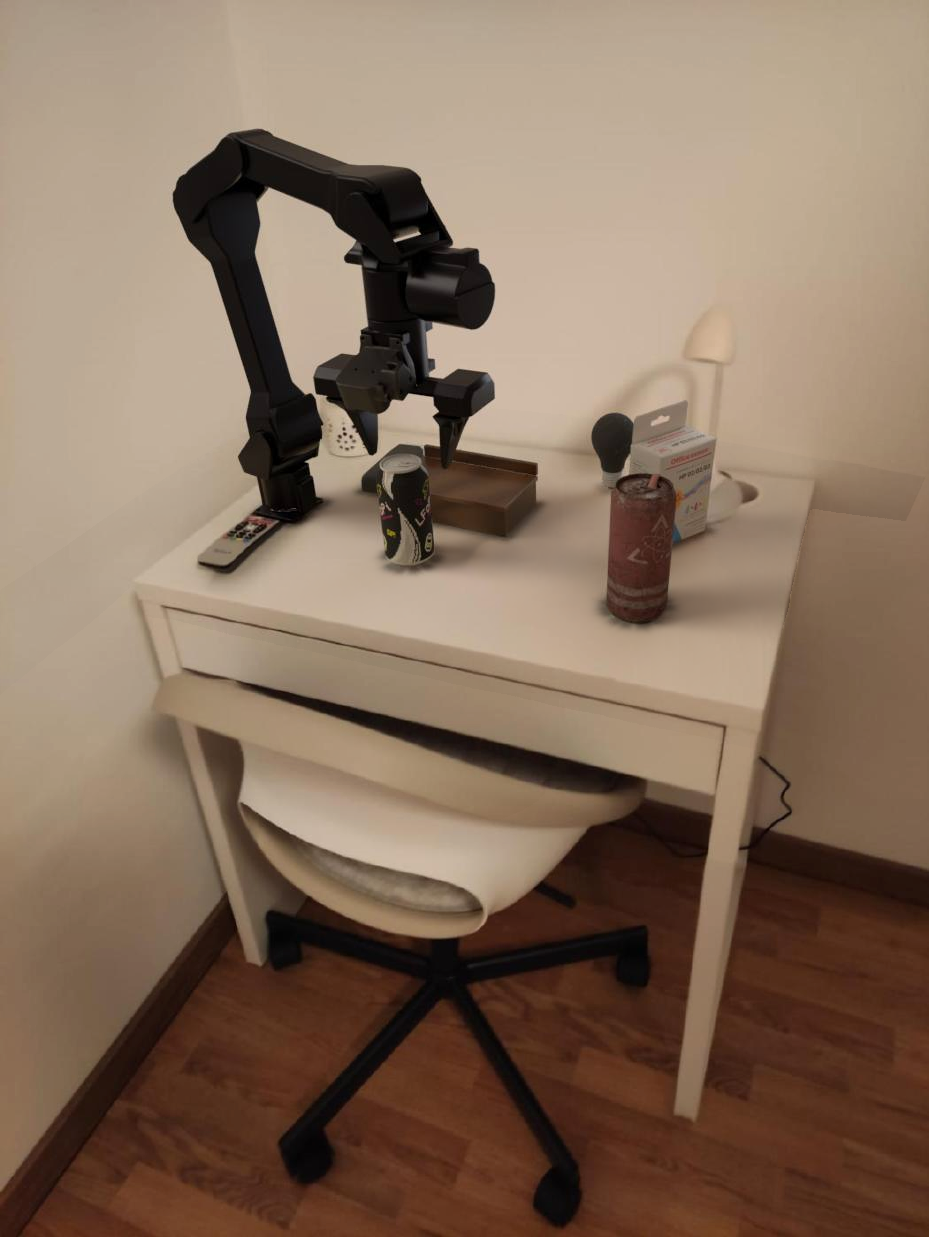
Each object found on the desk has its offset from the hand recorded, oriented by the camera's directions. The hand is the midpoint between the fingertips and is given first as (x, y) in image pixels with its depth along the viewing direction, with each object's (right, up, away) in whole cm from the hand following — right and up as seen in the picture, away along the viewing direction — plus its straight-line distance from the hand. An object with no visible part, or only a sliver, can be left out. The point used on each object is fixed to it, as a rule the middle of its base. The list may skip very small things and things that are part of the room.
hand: (409, 460), depth 95 cm
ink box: (+30, -7, +8) cm, 31 cm away
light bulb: (+25, 0, +19) cm, 31 cm away
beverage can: (0, -10, +7) cm, 12 cm away
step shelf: (+6, -3, +16) cm, 17 cm away
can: (+24, -16, -4) cm, 29 cm away
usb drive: (-3, +2, +25) cm, 26 cm away
